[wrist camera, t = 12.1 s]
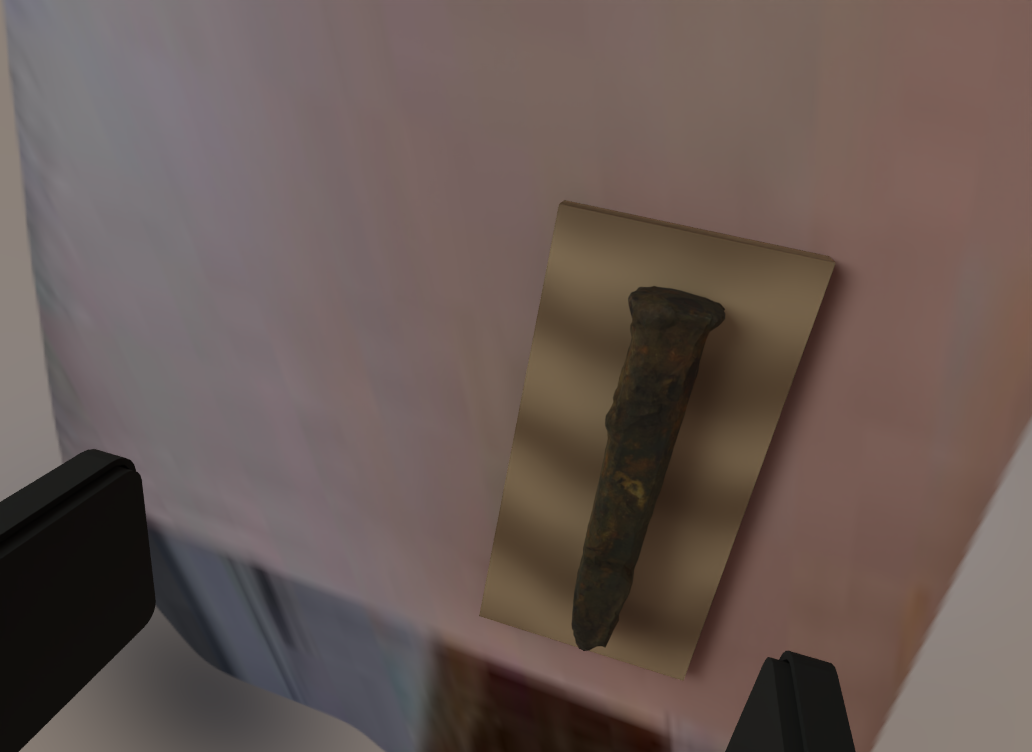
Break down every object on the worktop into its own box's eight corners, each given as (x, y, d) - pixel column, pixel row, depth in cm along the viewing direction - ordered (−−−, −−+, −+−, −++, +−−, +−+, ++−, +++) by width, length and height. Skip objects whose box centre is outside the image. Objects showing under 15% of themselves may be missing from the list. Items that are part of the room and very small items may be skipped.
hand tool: (637, 271, 30) (628, 295, 26) (726, 294, 30) (731, 323, 26) (544, 593, 38) (525, 652, 34) (613, 617, 37) (602, 680, 33)
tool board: (564, 200, 31) (559, 203, 30) (828, 256, 30) (835, 263, 28) (486, 599, 41) (479, 615, 39) (683, 661, 39) (683, 680, 38)
